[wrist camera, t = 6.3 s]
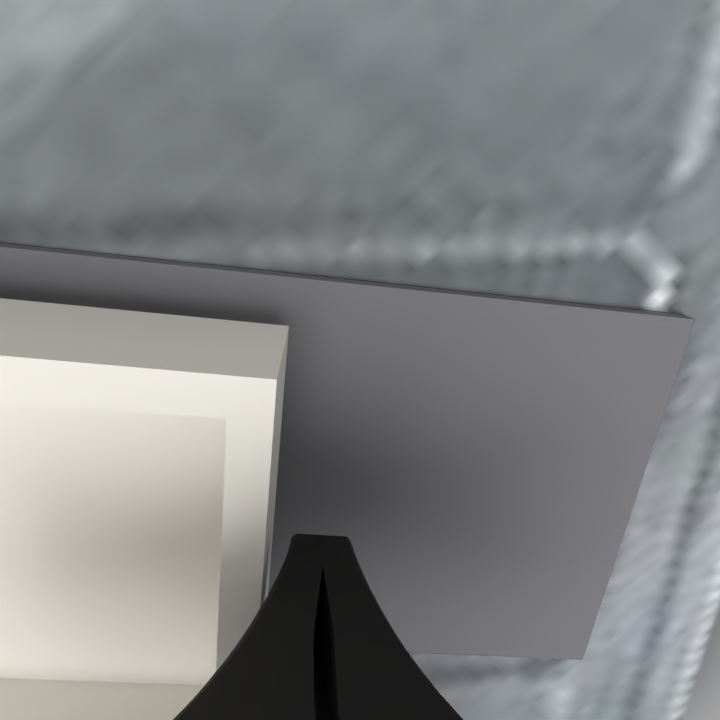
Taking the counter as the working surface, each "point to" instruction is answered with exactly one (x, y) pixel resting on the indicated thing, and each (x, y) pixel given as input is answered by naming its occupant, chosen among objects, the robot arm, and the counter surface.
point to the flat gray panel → (433, 434)
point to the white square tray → (131, 504)
